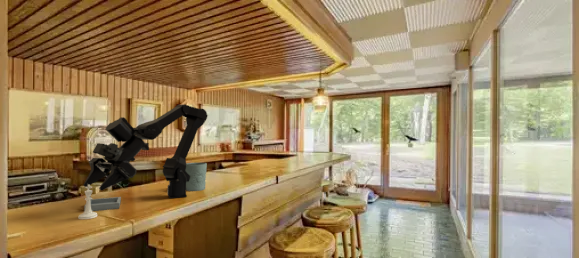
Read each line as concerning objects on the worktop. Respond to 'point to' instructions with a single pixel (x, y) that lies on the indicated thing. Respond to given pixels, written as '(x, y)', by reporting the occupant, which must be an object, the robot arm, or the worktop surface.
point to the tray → (105, 203)
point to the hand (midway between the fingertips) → (92, 187)
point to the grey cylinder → (196, 176)
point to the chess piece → (88, 206)
